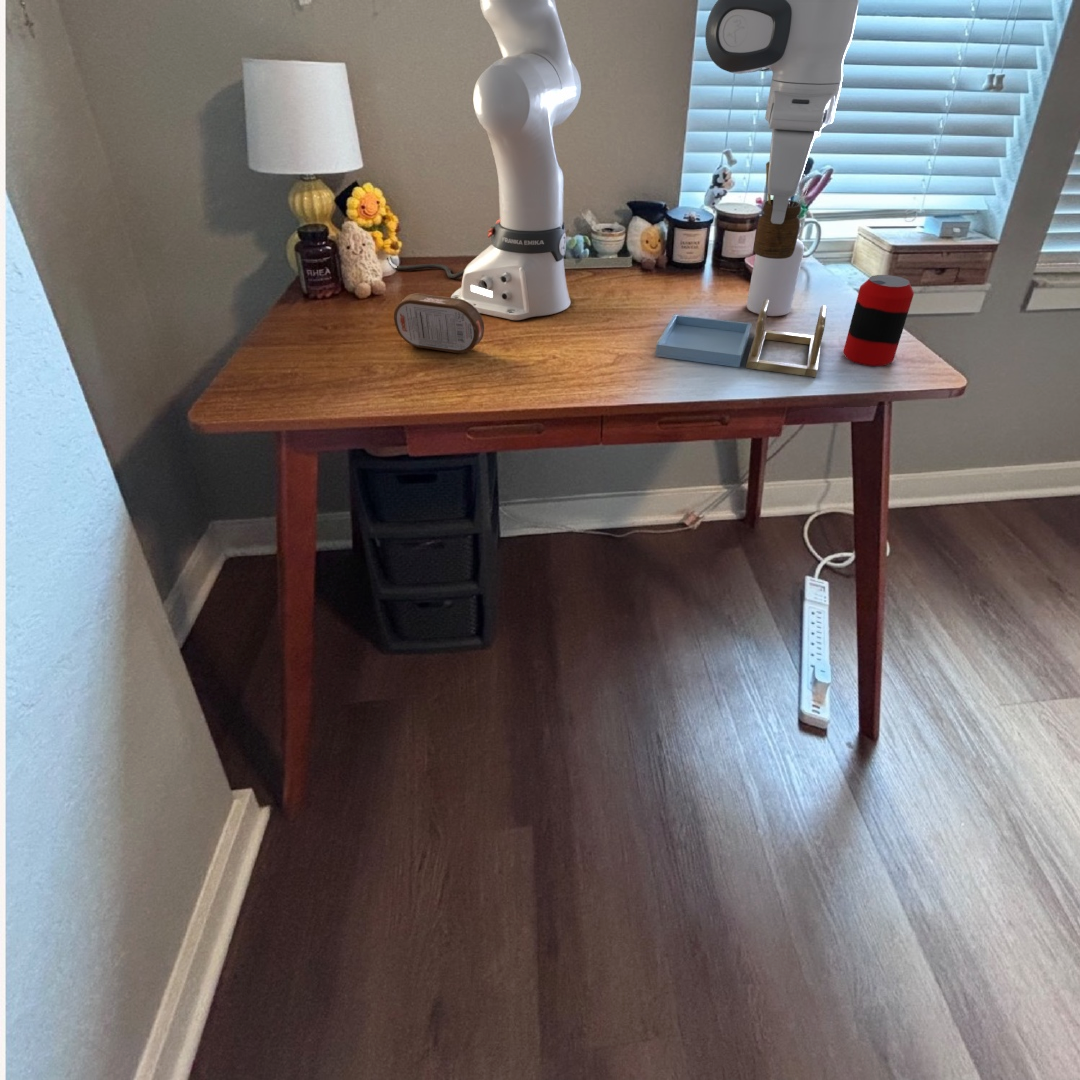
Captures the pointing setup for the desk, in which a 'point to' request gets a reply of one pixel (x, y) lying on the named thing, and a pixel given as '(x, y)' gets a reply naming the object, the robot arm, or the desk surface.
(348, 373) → the desk surface
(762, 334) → the rack
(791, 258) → the pill bottle
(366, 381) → the desk surface
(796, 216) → the utensil holder
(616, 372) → the desk surface
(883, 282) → the soda can
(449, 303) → the tin
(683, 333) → the tray
